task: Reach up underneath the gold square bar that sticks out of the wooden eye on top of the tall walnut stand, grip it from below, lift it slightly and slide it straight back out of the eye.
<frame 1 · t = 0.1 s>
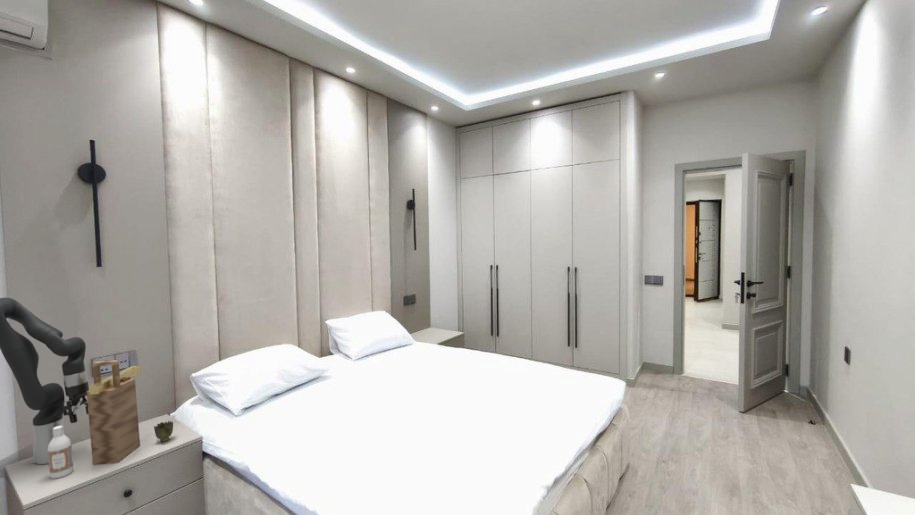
hand: (82, 418, 176), 17 cm above the nightstand, tool pointing down, fingers open, 8 cm apart
cup: (164, 441, 189), on the nightstand
gold square bar: (116, 382, 178), point 32 cm above the nightstand, touching walnut stand
bath foam: (62, 474, 164), on the nightstand
walnut stand: (117, 455, 177), on the nightstand
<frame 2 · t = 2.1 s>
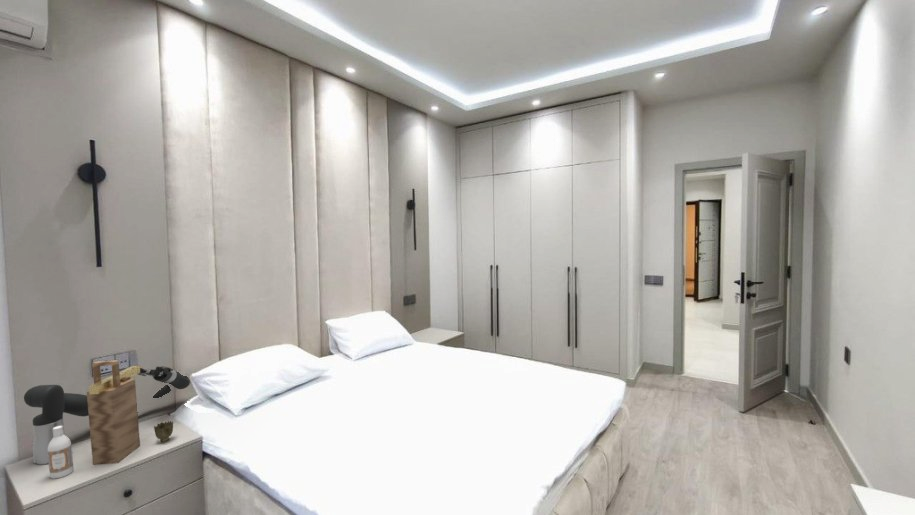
hand: (147, 369, 199), 31 cm above the nightstand, tool pointing upward, fingers open, 8 cm apart
nothing on the nightstand moved.
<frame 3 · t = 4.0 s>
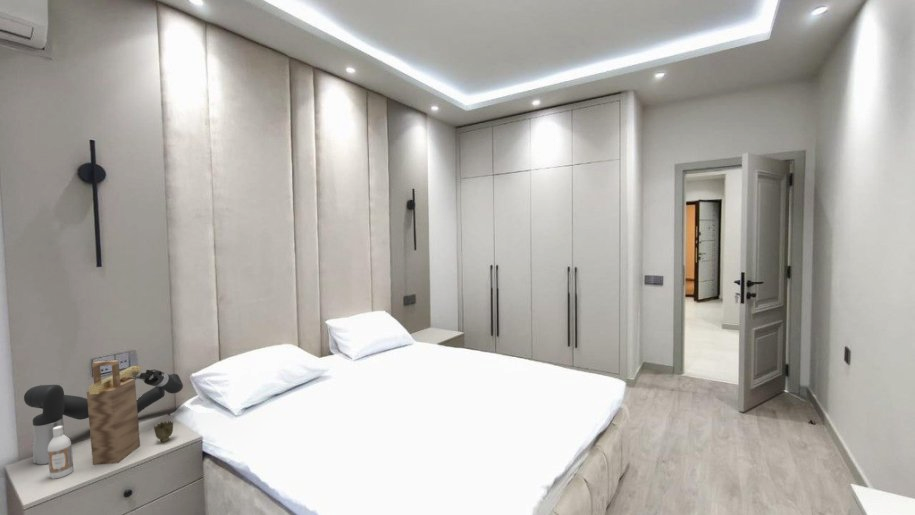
hand: (136, 372, 191), 32 cm above the nightstand, tool pointing upward, fingers open, 8 cm apart
nothing on the nightstand moved.
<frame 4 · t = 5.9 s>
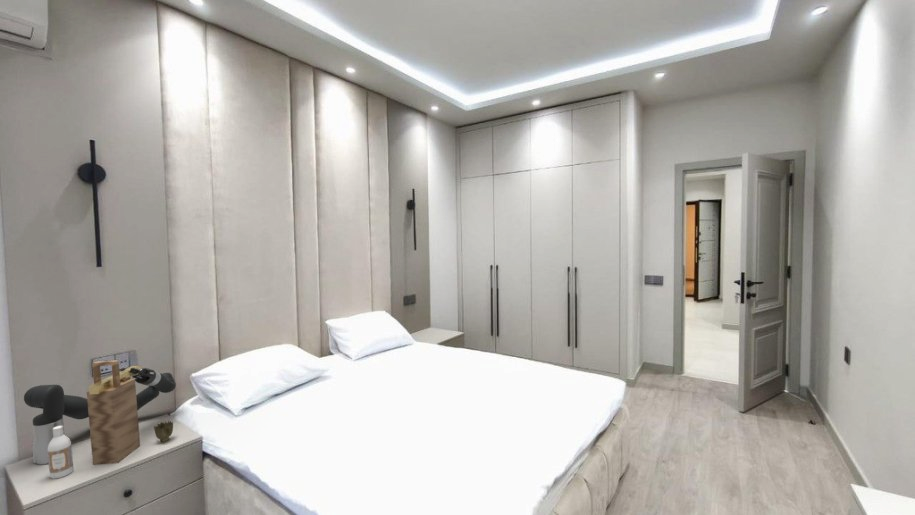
hand: (126, 370, 185), 35 cm above the nightstand, tool pointing upward, fingers closed on gold square bar, 3 cm apart
gold square bar: (116, 382, 178), point 32 cm above the nightstand, touching gripper, walnut stand
everything else where it was.
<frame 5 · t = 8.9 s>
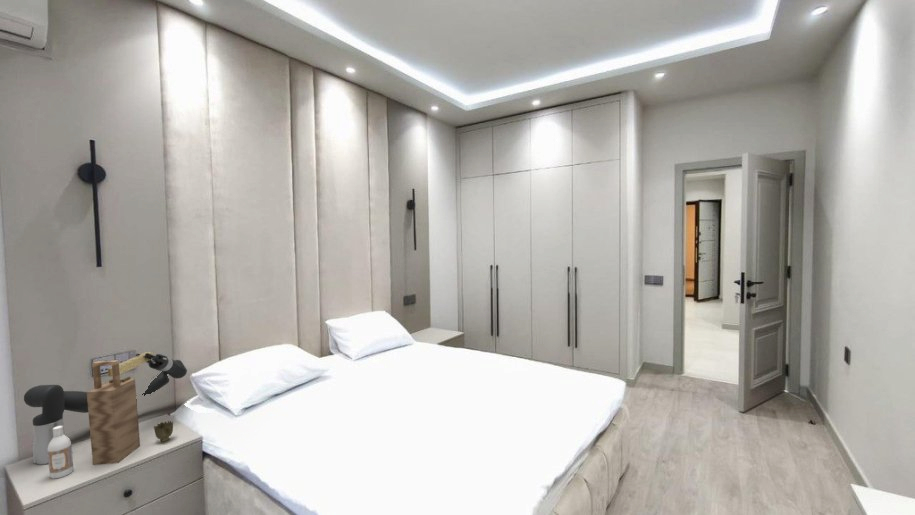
hand: (141, 355, 195), 39 cm above the nightstand, tool pointing upward, fingers closed on gold square bar, 3 cm apart
gold square bar: (132, 366, 188), point 36 cm above the nightstand, touching gripper
everything else where it was.
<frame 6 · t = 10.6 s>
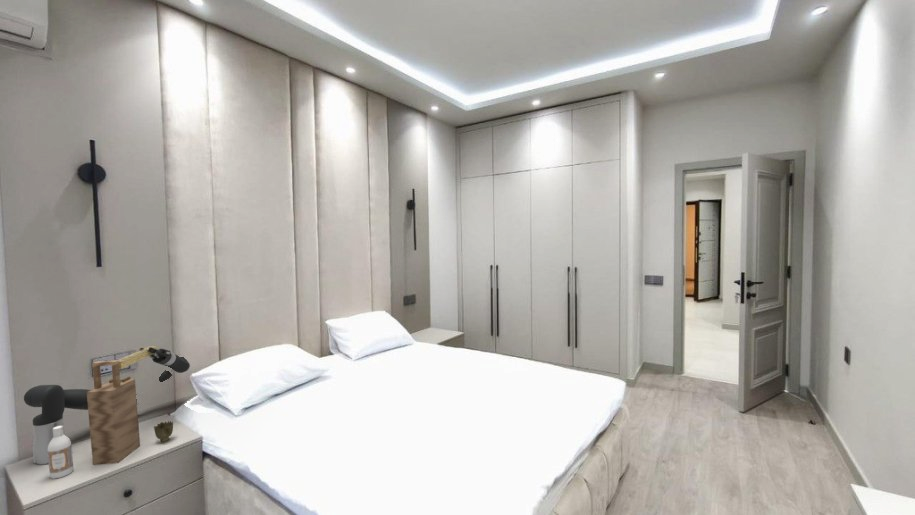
hand: (145, 349, 198), 41 cm above the nightstand, tool pointing upward, fingers closed on gold square bar, 3 cm apart
gold square bar: (136, 360, 192), point 38 cm above the nightstand, touching gripper
everything else where it was.
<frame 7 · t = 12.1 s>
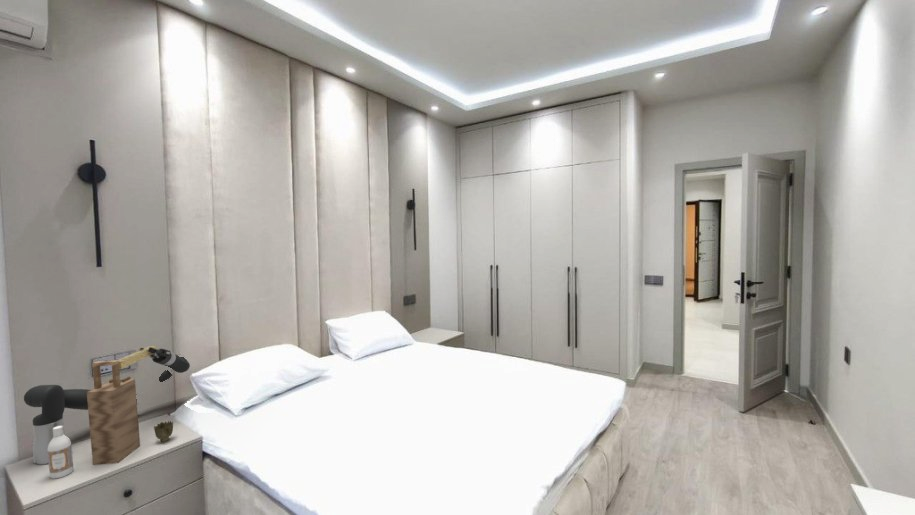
hand: (145, 349, 198), 41 cm above the nightstand, tool pointing upward, fingers closed on gold square bar, 3 cm apart
gold square bar: (136, 360, 192), point 38 cm above the nightstand, touching gripper
everything else where it was.
at the end: the gripper is holding gold square bar; gold square bar inside the target area (0.1 cm from its centre), point 37.9 cm above the nightstand; gold square bar touching gripper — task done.
